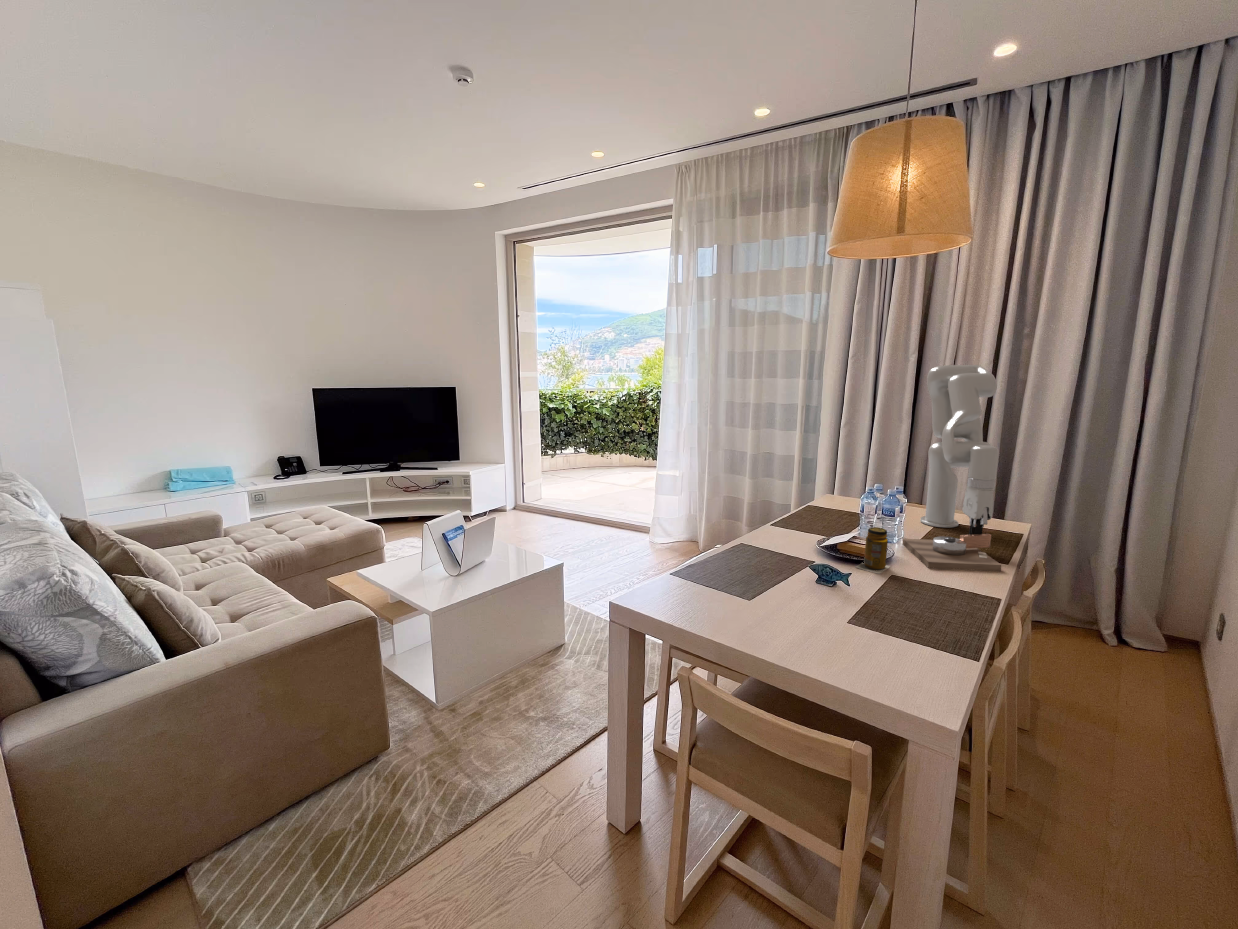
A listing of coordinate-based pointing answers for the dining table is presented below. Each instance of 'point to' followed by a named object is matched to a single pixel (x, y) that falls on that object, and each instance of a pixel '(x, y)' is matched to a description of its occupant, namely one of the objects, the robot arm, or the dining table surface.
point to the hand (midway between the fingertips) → (975, 537)
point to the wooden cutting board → (950, 557)
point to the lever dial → (960, 543)
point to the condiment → (875, 551)
